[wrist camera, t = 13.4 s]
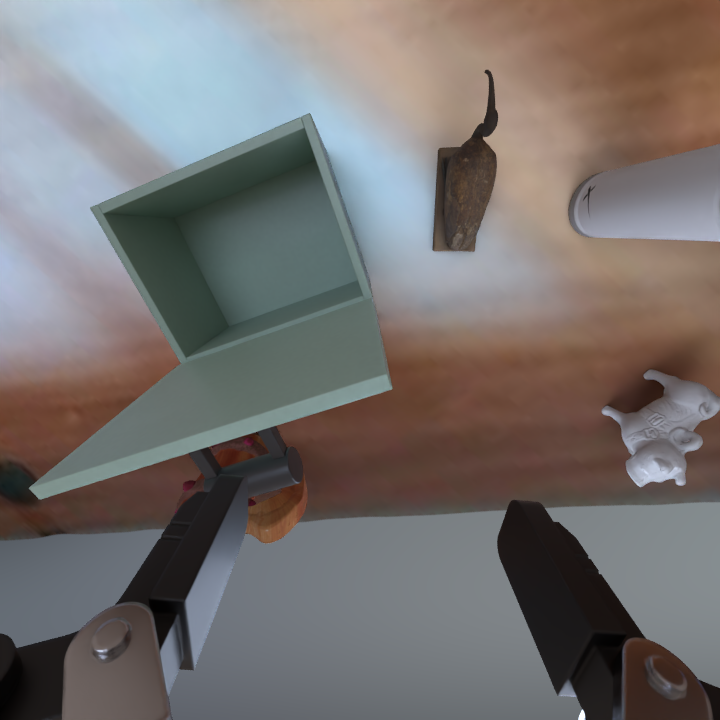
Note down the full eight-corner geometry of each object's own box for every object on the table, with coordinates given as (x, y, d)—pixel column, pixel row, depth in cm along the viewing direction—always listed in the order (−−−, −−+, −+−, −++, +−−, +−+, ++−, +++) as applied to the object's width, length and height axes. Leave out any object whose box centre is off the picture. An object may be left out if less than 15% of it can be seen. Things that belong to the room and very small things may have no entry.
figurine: (440, 98, 32) (467, 53, 24) (487, 96, 32) (530, 51, 24) (432, 251, 37) (452, 257, 29) (473, 250, 37) (504, 256, 29)
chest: (168, 214, 36) (89, 207, 25) (325, 149, 34) (309, 112, 23) (228, 331, 40) (182, 367, 30) (370, 281, 38) (373, 300, 28)
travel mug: (554, 202, 35) (769, 171, 17) (614, 157, 34) (924, 69, 15) (579, 251, 37) (800, 273, 18) (637, 211, 36) (941, 191, 17)
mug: (221, 476, 48) (164, 577, 34) (205, 427, 45) (135, 516, 31) (321, 466, 48) (305, 565, 34) (312, 417, 45) (290, 502, 31)
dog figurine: (576, 430, 45) (636, 487, 36) (656, 359, 42) (748, 399, 32) (602, 449, 47) (667, 509, 37) (682, 381, 43) (779, 428, 33)
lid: (27, 488, 16) (100, 564, 18) (387, 373, 14) (422, 474, 16) (177, 365, 30) (209, 416, 32) (372, 297, 27) (392, 357, 29)
